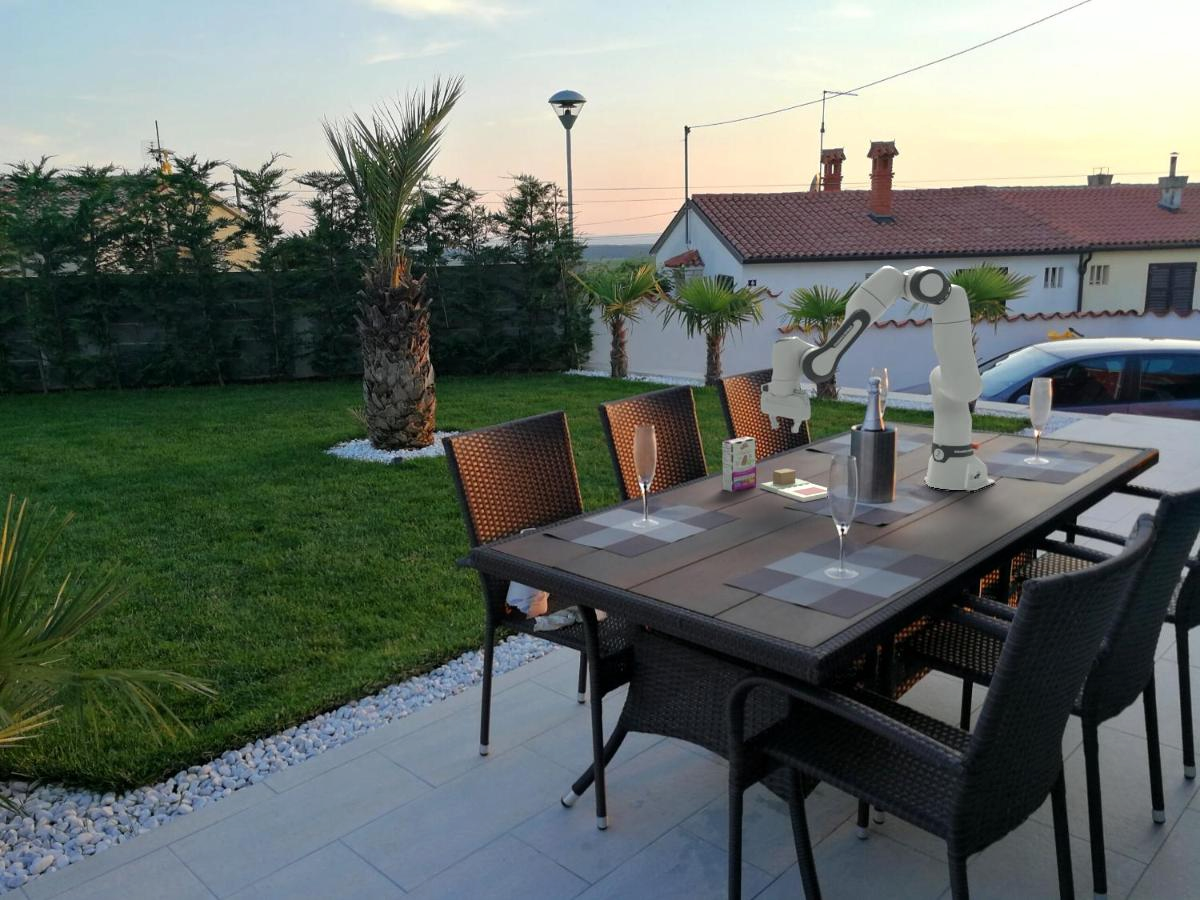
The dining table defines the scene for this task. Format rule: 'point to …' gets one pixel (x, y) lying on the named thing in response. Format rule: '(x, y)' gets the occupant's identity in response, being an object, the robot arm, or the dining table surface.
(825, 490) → the board
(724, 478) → the candy bar box
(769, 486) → the stub
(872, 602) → the dining table surface
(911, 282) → the robot arm
